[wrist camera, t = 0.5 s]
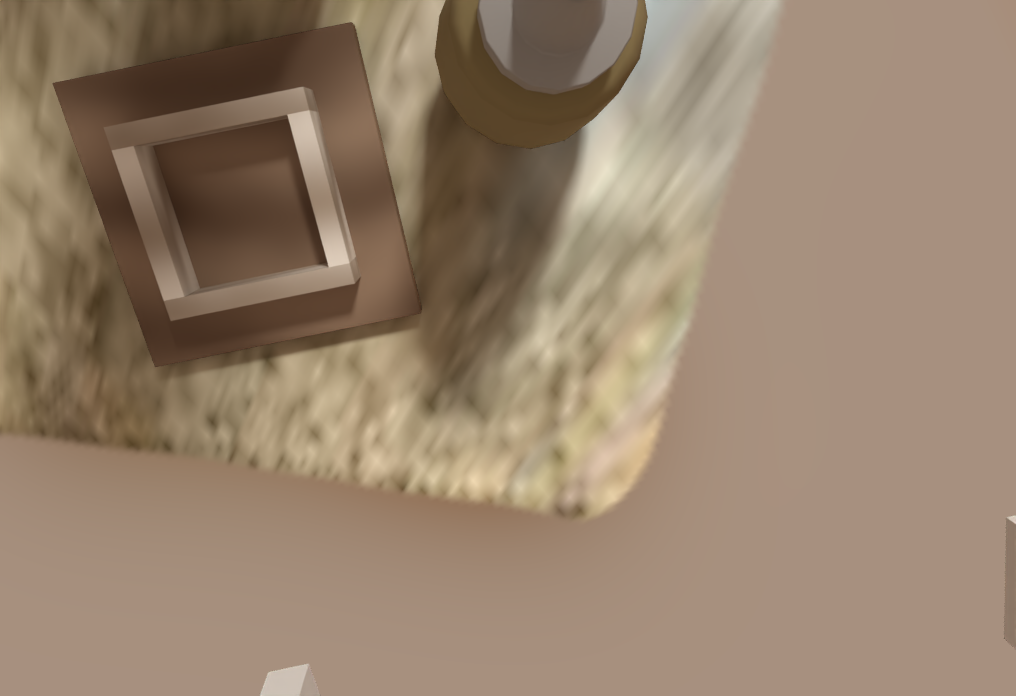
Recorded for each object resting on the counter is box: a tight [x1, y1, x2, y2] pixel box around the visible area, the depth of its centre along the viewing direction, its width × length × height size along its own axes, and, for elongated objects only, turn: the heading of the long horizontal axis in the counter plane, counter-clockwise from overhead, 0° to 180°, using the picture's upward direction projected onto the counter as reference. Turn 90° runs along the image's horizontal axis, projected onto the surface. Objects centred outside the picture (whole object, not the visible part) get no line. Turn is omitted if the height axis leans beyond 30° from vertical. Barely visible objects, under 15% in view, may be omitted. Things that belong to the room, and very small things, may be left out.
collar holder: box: [53, 22, 422, 367], centre depth 33 cm, size 14×14×3 cm
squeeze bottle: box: [435, 0, 648, 149], centre depth 25 cm, size 8×8×18 cm
